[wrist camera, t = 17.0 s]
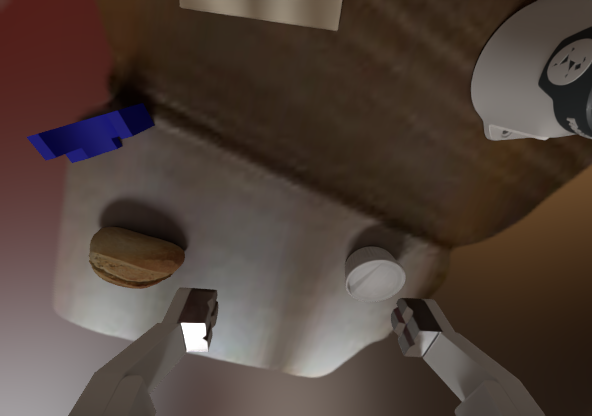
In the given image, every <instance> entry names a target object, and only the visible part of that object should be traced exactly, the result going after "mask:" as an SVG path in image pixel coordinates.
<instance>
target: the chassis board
mask: <svg viewBox="0 0 592 416" xmlns="http://www.w3.org/2000/svg"><path fill="white" fill-rule="evenodd" d="M341 6H342V0H180V7H181V8H185V9H192V10H198V11H205V12H212V13H219V14H225V15H232V16H239V17H246V18H253V19H259V20H266V21H273V22H280V23H286V24H293V25H300V26H307V27H314V28H320V29H327V30H334V31H337V30H338V24H339V18H340V12H341Z"/></svg>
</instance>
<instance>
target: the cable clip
mask: <svg viewBox="0 0 592 416" xmlns="http://www.w3.org/2000/svg"><path fill="white" fill-rule="evenodd" d="M152 126H154V123H153V121H152V119H151V117H150V115H149V113H148V112H147V110H146V108H145V106H144V104H143V103H141V104H138V105H134V106H131V107H127V108H124V109H121V110H117V111H114V112H110V113H107V114H104V115H100V116H97V117H93V118H90V119H86V120H83V121H80V122H76V123H73V124H69V125H66V126H63V127H59V128H56V129H53V130H49V131H46V132H42V133H39V134H36V135H32V136H29V137H27V138H28V139H29V141H30V142H31V143H32V144H33V145H34V147H35V148H36V149H37V150H38V152H39V153H40V154H41V155H42V156H43V158H44V159H45V160H49V159H53V158H56V157H58V156H61V155H63V154H66V156H67V157H68V158H69V160H70V161H71V162H72V163H74V162H77V161H81V160H84V159H88V158H91V157H94V156H97V155H99V154H102V153H105V152H108V151H112V150H115V149H118V148H120V147H122V144H121V143H120V141H119V139H118V138H117V137H119V136H120V138H121V139H124V138H128V137H131V136H134V135H136V134H138V133H140V132H142V131H144V130H146V129H148V128H150V127H152Z"/></svg>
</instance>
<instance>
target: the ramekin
mask: <svg viewBox="0 0 592 416" xmlns="http://www.w3.org/2000/svg"><path fill="white" fill-rule="evenodd" d="M404 283H405V271H404V269H403V267H402V266H401V265H400V263H398V262H397V261H396V260H395V259H394V257H393V256H392V255H391V254H390V253H389V252H388V251H387V250H385V249H383V248H380V247H374V246H370V247H364V248H361V249H358V250H357V251H355V252H354V253H352V254H351V255H350V256H349V258H348V259H347V261H346V264H345V286H346V289H347V292H348V293H349V294H350V295H351V296H352V297H353V298H355V299H357V300H360V301H364V302H376V301H381V300H385V299H387V298H389V297H391V296H393V295H394V294H396V293H397V292H398V291H399V290H400V289H401V288H402V287H403V285H404Z"/></svg>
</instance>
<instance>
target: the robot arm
mask: <svg viewBox="0 0 592 416" xmlns="http://www.w3.org/2000/svg"><path fill="white" fill-rule="evenodd" d="M471 96H472V101H473V105H474V107H475V109H476V111H477V113H478V114H479V115H480V117H481V118H482V120H483V122H484V132H485V136H486V138H487V139H491V140H506V139H517V138H528V137H533V138H536V139H542V140H546V139H548V138H549V137H561V136H568V135H574V134H579V135H581V136H584V137H586V138H591V139H592V0H537V1H536V2H534V3H532V4H530V5H528V6H526V7H524V8H523V9H521V10H520V11H518V12H517V13H515V14H514V15H513V16H511V17H510V18H509V19H508V20H507V21H506V22H505V23H504V24H503V25H502V26H501V27H500V28H499V29H498V30H497V31H496V32H495V33H494V35H493V36H492V37H491V39H490V40H489V41H488V43H487V44H486V46H485V48H484V49H483V51H482V53H481V55H480V57H479V59H478V61H477V64H476V67H475V70H474V73H473V77H472V83H471ZM504 130H505V131H504ZM503 131H504V132H503ZM217 296H218V295H217V290H211V289H197V288H179V289H178V290H177V292H176V294H175V296H174V298H173V300H172V302H171V305H170V307H169V309H168V311H167V313H166V315H165V317H164V319H163V321H162V323H157V324H156V325H155V326H153V327H152V328H151V329H150V330H148V331H147V332H146V333H145V334H143V335H142V336H141V337H140V338H138V339H137V340H136V341H134V342H133V343H132V344H131V345H129V346H128V347H127V348H126V349H124V350H123V351H122V352H121V353H120V354H118V355H117V356H116V357H114V358H113V359H112V360H111V361H109V362H108V363H107V364H106V365H104V366H103V367H102V368H100V369H99V370H98V371H97V372H95V373H94V375H93V376H92V378H91V380H90V381H89V383H88V385H87V386H86V388H85V389H84V391H83V393H82V394H81V396H80V398H79V399H78V401H77V402H76V404H75V406H74V407H73V409H72V411H71V412H70V414H69V415H68V416H155V414H156V410H155V408H154V405H153V403H152V400H151V398H150V395H149V394H150V393H151V392H152V391H153V390H154V389H155V387H157V385H158V384H159V383H160V382H161V381H162V380H163V379H164V378H165V376H166V375H167V374H168V373H169V372H170V371H171V370H172V369H173V367H174V366H175V365H176V364H177V363H178V362H179V361H180V359H181V358H182V357H183V356H184V355H185V354H186V351H208V350H209V346H210V343H211V339H212V328H213V327H214V326H215V324H216V320H217V315H218V302H217V301H216V299H217ZM396 304H397V306H398V307H397V308H395V309H394V310H393V311H392V314H391V323H392V327H393V329H394V331H395V332H396V333H397V334H398V335H399V340H398V342H399V344H400V347H401V349H402V351H403V354H404V356H413V357H423V359H424V360H425V361H426V362H427V363H428V364H429V365H430V367H432V369H433V370H434V371H435V372H436V373H437V374H438V375H439V376H440V377H441V379H442V380H443V381H444V382H445V383H446V384H447V385H448V386H449V387H450V389H451V390H452V391H453V392H454V393H455V394H456V395H457V396H458V397H459V398H460V399H461V401H462V403H461V404H460V405H459V406H458V407H457V408H456V410H455V414H456V416H545V415H544V413H543V412H542V410H541V409H540V408H539V406H538V405H537V404H536V402H535V401H534V399H533V398H532V397H531V395H530V394H529V393H528V391H527V390H526V389H525V387H524V386H523V384H522V383H521V382H520V380H519V379H517V378H516V377H515V376H513V375H512V374H511V373H509V372H508V371H507V370H506V369H504V368H503V367H502V366H500V365H499V364H498V363H497V362H495V361H494V360H493V359H491V358H490V357H489V356H488V355H486V354H485V353H484V352H482V351H481V350H480V349H478V348H477V347H476V346H474V345H473V344H472V343H471V342H469V341H468V340H467V339H466V338H464V337H463V336H462V335H460V334H459V333H455V331H454V330H453V328H452V327H451V325H450V324H449V322H448V320H447V319H446V317H445V316H444V314H443V313H442V311H441V309H440V308H439V306H438V305H437V303H436V302H435V301H434V300H433V299H414V298H400V299H398V301H397V303H396Z"/></svg>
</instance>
